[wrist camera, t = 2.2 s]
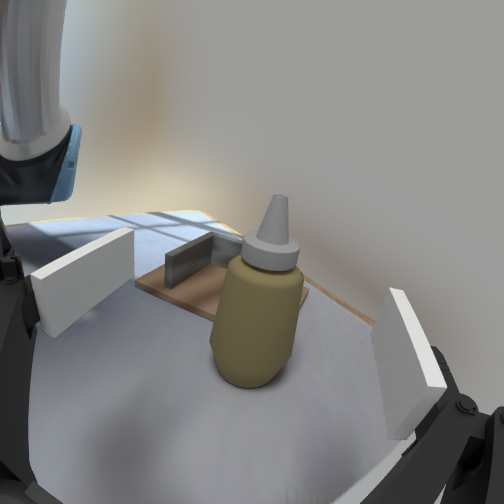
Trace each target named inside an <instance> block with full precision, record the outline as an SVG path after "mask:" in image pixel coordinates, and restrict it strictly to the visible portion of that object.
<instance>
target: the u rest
mask: <svg viewBox="0 0 504 504" xmlns="http://www.w3.org/2000/svg"><path fill="white" fill-rule="evenodd" d="M242 243H243V241H241V240H238V239H234V238H231V237H227V236H224V235H221V234H217V233H214V232H209V233H207V234H205V235H203V236H201V237H199V238H197V239H195V240H192V241H190V242H188V243H186V244H184V245H182V246H180V247H178V248H176V249H174V250H172V251H170V252H168V253H166V254H165V264H164V265H162V266H160V267H158V268H157V269H155V270H153V271H151V272H149V273H147V274H146V275H144V276H142V277H140V278H138V279H136V280H135V286H136V287H138V288H140V289H142V290H144V291H146V292H148V293H150V294H152V295H155V296H157V297H159V298H161V299H163V300H165V301H168V302H170V303H172V304H174V305H176V306H179V307H181V308H183V309H186V310H188V311H190V312H192V313H195V314H197V315H199V316H202V317H204V318H207V319H209V320H211V321H214V320H215V315H216V311H217V307H218V303H219V299H220V295H221V291H222V287H223V283H224V279H225V275H226V271H227V267H228V264H229V261H230V260H232V259H233V258H235V257H237V256H239V255H240V254H241V250H242ZM308 291H309V288H306V287H303V289H302V295H301V302H300V308H301V306H302V304H303V302H304V300H305V298H306V296H307V294H308ZM300 308H299V310H300Z"/></svg>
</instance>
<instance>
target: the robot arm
mask: <svg viewBox="0 0 504 504" xmlns="http://www.w3.org/2000/svg"><path fill="white" fill-rule="evenodd" d="M66 3H67V0H0V122H1V126H0V206H3V205H19V204H44V203H47V204H50V203H52V202H61V201H66V200H68V199H69V198H70V197H71V195H72V192H73V187H74V180H75V173H76V166H77V159H78V152H79V146H80V140H81V133H82V129H81V127H80V126H78V125H75V124H73V125H70V115H69V113H68V111H67V110H66V109H65V108H64V107H62V106H61V105H59V75H60V53H61V41H62V31H63V22H64V16H65V9H66ZM132 277H134V229H130V228H125V227H122V228H120V229H117V230H115V231H113V232H111V233H109V234H107V235H105V236H103V237H101V238H98V239H96V240H94V241H92V242H90V243H88V244H86V245H84V246H82V247H80V248H78V249H76V250H74V251H72V252H70V253H68V254H66V255H64V256H63V257H61V258H59V259H57V260H55V261H53V262H51V263H49V264H47V265H46V266H44V267H42V268H40V269H38V270H36V271H35V272H33V273H31V274H30V275H28V276H26V277H25V278H24V273H23V267H22V261H21V258H20V257H18V256H15V254H14V248H13V244H12V242H11V240H10V238H9V235H8V233H7V231H6V228H5V226H4V223H3V221H2V218H1V211H0V504H63V503H62V502H60V501H59V500H58V499H56V498H55V497H53V496H52V495H51V494H49V493H48V492H47V491H46V490H44V489H43V488H42V487H40V486H39V485H38V484H37V481H36V478H35V475H34V473H33V471H32V469H31V466H30V462H29V444H28V412H29V392H30V380H31V370H32V361H33V354H34V347H35V340H36V334H37V328H36V323H37V322H39V321H41V325H42V328H43V332H44V333H46V334H48V335H49V336H51V337H53V338H54V339H55V338H56V337H57V336H58V335H60V334H61V333H62V332H63V331H64V330H66V329H67V328H68V327H69V326H71V325H72V324H73V323H74V322H76V321H77V320H78V319H79V318H81V317H82V316H83V315H84V314H86V313H87V312H88V311H89V310H91V309H92V308H93V307H94V306H96V305H97V304H98V303H100V302H101V301H102V300H103V299H105V298H106V297H107V296H109V295H110V294H111V293H113V292H114V291H115V290H116V289H118V288H119V287H120V286H122V285H123V284H124V283H126V282H127V281H128V280H130V279H131V278H132ZM370 335H371V340H372V344H373V349H374V354H375V359H376V365H377V370H378V375H379V381H380V387H381V393H382V399H383V406H384V413H385V420H386V428H387V436H388V440H407V438H408V437H409V436H410V435H411V434H412V433H413V432H414V430H415V434H416V440H415V441H414V442H413V443H412V444H411V445H410V446H409V447H408V448H407V449H406V451H405V452H404V453H403V454H402V457H401V459H400V460H399V461H398V462H397V463H396V465H395V466H394V467H393V468H392V470H391V471H390V472H389V473H388V474H387V475H386V476H385V478H384V479H383V480H382V481H381V482H380V483H379V484H378V485H377V486H376V487H375V488H374V490H373V491H372V492H371V493H370V494H369V495H368V496H367V497H366V498H365V499H364V500H363V501H362V502H361V503H360V504H434V502H435V501H436V499H437V498H438V496H439V494H440V493H441V491H442V489H443V488H444V486H445V484H446V487H445V490H444V493H443V496H442V499H441V503H440V504H504V407H502V406H501V407H498V408H497V409H496V410H495V411H494V413H493V414H492V415H491V416H490V415H487V414H484V413H480V412H479V411H478V407H477V405H476V403H475V402H474V401H473V400H472V399H471V398H470V397H469V396H466V395H464V394H460V393H459V390H458V388H457V385H456V383H455V381H454V378H453V376H452V374H451V372H450V369H449V367H448V365H447V363H446V360H445V359H444V356H443V354H442V353H441V352H440V351H439V350H438V349H437V348H436V347H433V346H430V345H429V343H428V340H427V338H426V336H425V334H424V332H423V330H422V327H421V325H420V323H419V321H418V319H417V317H416V315H415V313H414V311H413V309H412V307H411V305H410V303H409V301H408V299H407V297H406V295H405V294H404V292H403V291H402V290H398V289H394V288H389V289H388V292H387V295H386V298H385V300H384V302H383V305H382V308H381V310H380V313H379V315H378V318H377V320H376V322H375V325H374V327H373V329H372V332H371V334H370Z"/></svg>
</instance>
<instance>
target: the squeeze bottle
mask: <svg viewBox="0 0 504 504" xmlns="http://www.w3.org/2000/svg"><path fill="white" fill-rule="evenodd" d="M299 250H300V247H299V244H298V243H297V242H296V241H295V240H293V239H291V238H289V237H288V198H287V197H285V196H282V195H273V197H272V199H271V202H270V204H269V207H268V209H267V211H266V214H265V216H264V219H263V221H262V223H261V226H260V228H259V230H258V231H255V232H249V233H247V234H245V235H244V238H243V243H242V250H241V254H240V255H239V256H237V257H235V258H233V259H232V260H230V261H229V264H228V267H227V271H226V275H225V279H224V283H223V287H222V291H221V295H220V299H219V303H218V307H217V311H216V315H215V320H214V324H213V328H212V332H211V336H210V345H211V348H212V351H213V354H214V357H215V360H216V363H217V366H218V369H219V372H220V374H221V375H222V377H223V378H224V379H225V380H226V381H227V382H229V383H231V384H233V385H236V386H238V387H244V388H255V387H261V386H262V385H264V384H266V383H268V382H269V381H270V380H271V379H272V378H273V377H274V376H275V375H276V374H277V373H278V372H279V370H280V369H281V368H282V367H283V366H284V365H285V364H286V362H287V361H288V359H289V357H290V356H291V353H292V348H293V342H294V337H295V331H296V325H297V320H298V314H299V308H300V302H301V295H302V289H303V283H304V278H303V273H302V272H301V271H300V270H299V268H298V267H297V266H296V263H297V260H298V255H299Z"/></svg>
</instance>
